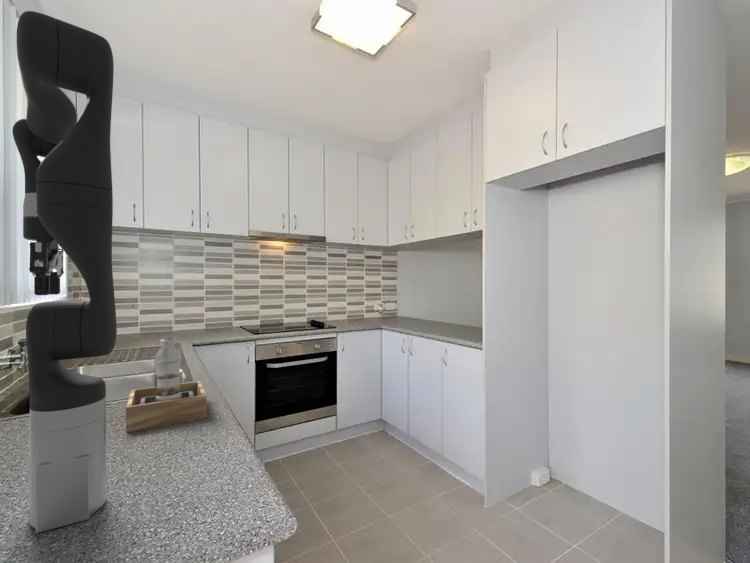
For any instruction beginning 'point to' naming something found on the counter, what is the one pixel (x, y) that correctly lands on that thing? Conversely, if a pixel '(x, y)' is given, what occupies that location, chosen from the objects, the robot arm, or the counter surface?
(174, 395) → the plastic bottle
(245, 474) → the counter surface
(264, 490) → the counter surface
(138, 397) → the walled box
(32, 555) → the counter surface
